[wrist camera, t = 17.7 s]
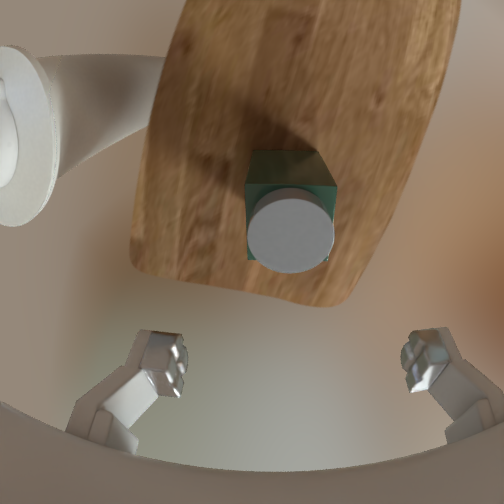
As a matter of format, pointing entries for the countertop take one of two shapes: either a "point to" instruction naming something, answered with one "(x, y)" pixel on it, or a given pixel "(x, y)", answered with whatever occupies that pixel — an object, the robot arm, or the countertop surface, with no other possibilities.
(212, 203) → the countertop surface
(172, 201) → the countertop surface
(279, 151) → the green box with disc
